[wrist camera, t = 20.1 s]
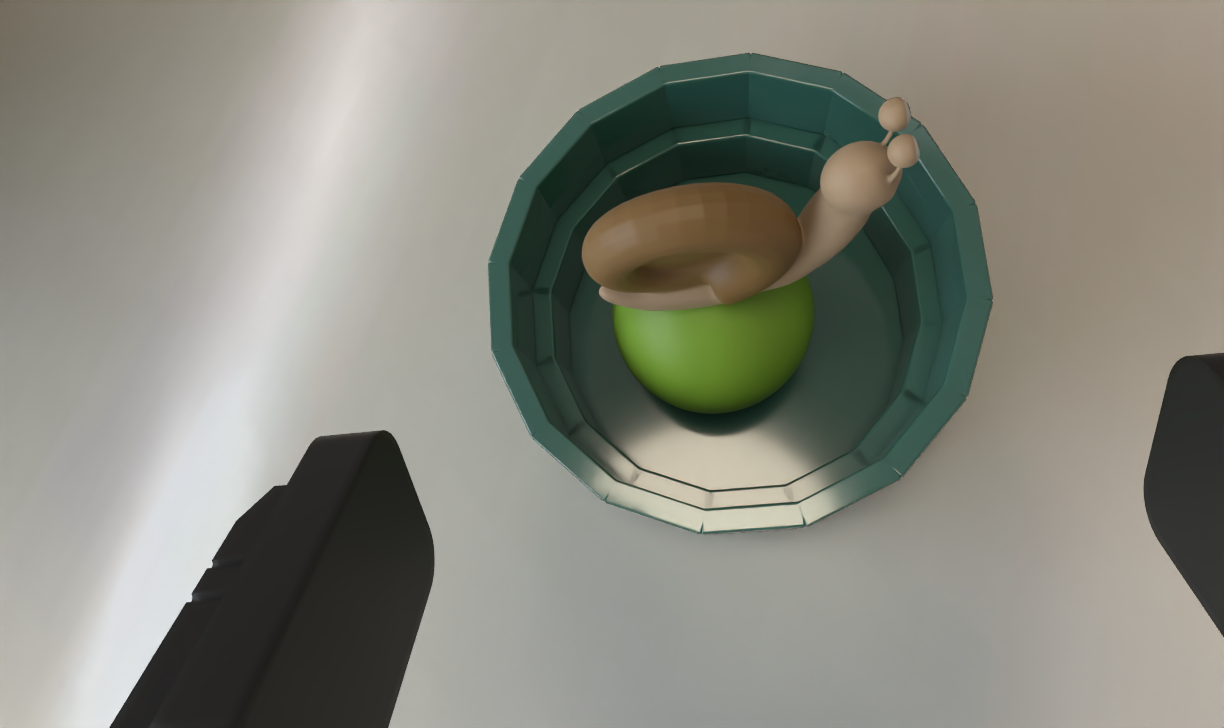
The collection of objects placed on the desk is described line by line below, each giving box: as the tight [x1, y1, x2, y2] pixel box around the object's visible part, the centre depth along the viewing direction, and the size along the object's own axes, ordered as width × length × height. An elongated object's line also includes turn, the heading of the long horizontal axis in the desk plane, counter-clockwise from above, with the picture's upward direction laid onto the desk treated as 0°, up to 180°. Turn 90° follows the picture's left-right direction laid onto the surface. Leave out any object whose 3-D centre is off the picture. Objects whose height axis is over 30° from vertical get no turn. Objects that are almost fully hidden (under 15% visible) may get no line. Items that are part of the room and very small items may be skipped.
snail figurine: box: [582, 97, 920, 414], centre depth 19 cm, size 5×6×12 cm
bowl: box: [488, 53, 993, 535], centre depth 23 cm, size 12×12×6 cm
